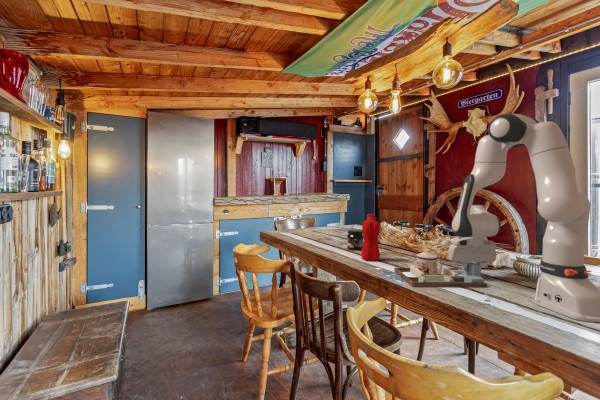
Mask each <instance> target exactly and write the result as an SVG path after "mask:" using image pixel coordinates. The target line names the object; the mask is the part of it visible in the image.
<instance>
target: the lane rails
mask: <svg viewBox="0 0 600 400" xmlns="http://www.w3.org/2000/svg"><path fill="white" fill-rule="evenodd" d="M447 268H448V269H450V270H459V268H458V267H447ZM393 272H394V273H395V274H397V275H398V276H399V277H400V278H401V279H403V281H405V282H406V283H407V284H408V285H409V286H410V287H413V288H415V287H416V288H418V287H419V288H426V287H427V288H432V287H433V288H487V287H488V286H487V285H488V283H487V282H485V281H484V282H464V277H450V278H452V279H453V280H454V282H418V277H415V276H407V275H406V274H405V273H406V272H407V273H408V272H409V273H410V267H394V268H393ZM403 272H405V273H403ZM424 278H444V277H424Z"/></svg>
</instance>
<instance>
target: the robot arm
mask: <svg viewBox="0 0 600 400" xmlns="http://www.w3.org/2000/svg"><path fill="white" fill-rule="evenodd" d="M487 133H488V134H487V135H484V136H482V137H481V138H480V139H479V140H478V144H477V148H476V152H475V156H474V165H473V168H472V171H471V172H470V174H469V175H466V177H465V178H464V180H463V184H462V187H461V191H460V194H459V198H458V203H457V206H456V211H455V214H454V215H453V217H452V220H451V230H452V231H453V232H454V234H455V235H457V236H456V237H452V238H450V240H449V241H450V244H449V247H448V251H447V258H448V260H449V261H451V262H454V263H456V262H457V263H459V262H460V263H461V266H462V265H463V267H464V268H463V270H464V271H465V272H468V271H469V268H468V267H466V265H465V264H467V262H477V263H478V264H477V265H480V266H482V264H483V262H488V263H490V262H491V263H494V262H496V260H497V252H496V243H495V242H494V241H493V240H488V241H484V237H486V238H488V237H496V236H498V234H499V232H501V228H502V227H501V226H502V224H501V223H502V222H501V220H500V218H499V217H498V215H496V214H493V213H491V212H489V211H488V210H486V209H485V206H484V205H481V204H476V203H475V204H473V202H474V199H475V195H476V194H477V192H479V191H480V190H481V189H483V188H486V187H488V186H492V185H494V184H495V183H498V182H499V181H501V179H502V178H503V177H504V176H505V173H506V169H507V159H508V157H507V156H508V151H509V149H511V148H518V147H521V146H525V147H526V149H527V152H528V156H529V159H530V163H531V167H532V171H533V173H534V177H535V185H536V187H535V188H536V196H537V212H538V213H539V215H540V217H541V218H543V219H544V220H546V221H547V225H546V227H545V231H544V234H543V235H544V236H543V237H542V254H541V260H540V263H539V270H540V276H539V277H538V279H537V284H536V290H535V295H534V298H532V304H534V305H538V306H539V307H543V308H545V309H547V310H550V311H553V312H555V313H557V314H560V315H562V316H565V317H568V318H570V319H574V320H577V321H584V322H590V323H591V322H592V323H593V322H594V323H600V289H598V287H596V285H595V284H594V283H593V282H592V281H591V280H590V279H589V275H592V270H588V269H587V267H586V265H585V247H586V246H585V245H586V237H587V234H588V233H587V232H588V228H589V222H590V221H589V220H590V212H591V202H590V200H589V198H588V197H587V196H586V195H585V194H584V193H582V192H580V191H578V185H577V179H576V178H577V177H576V167H575V165H574V160H573V157H572V154H571V152H570V148H569V144H568V141H567V139H566V137H565V135H564V134H563V132H562V129H561V128H560V126H559V125H558V124H557V123H556V122H554V121H548V120H547V121H541V122H539V121H538V120H537V119H536V118H534V117H532V116H526V115H524V114H521V113H520V114H519V113H508V112H507V113H502V114H499V115H496V116H495V117H493V118H492V120H491V121H490V123H489V124H488V127H487Z"/></svg>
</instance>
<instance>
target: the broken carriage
mask: <svg viewBox="0 0 600 400" xmlns="http://www.w3.org/2000/svg"><path fill="white" fill-rule="evenodd" d="M443 276H444V278H424V277H423V276H421V275H418V282H454V280H453V279H452V278H450V277H449V276H447V275H444V274H443ZM463 276H464V282H485V278H483V277H478V276H466V275H463Z"/></svg>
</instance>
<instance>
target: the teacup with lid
mask: <svg viewBox="0 0 600 400" xmlns="http://www.w3.org/2000/svg"><path fill="white" fill-rule="evenodd" d="M430 250H431V249H424V251H422V252H420V253H417V254H416V256H415V257H416V268H417V269H418V270H420V271H421V272H423V273H424V275H438V274H440V272H441V270H442V266H443V265H442V263H441V262H439V261H438V260H439V257H438V255H437V254H434V253H433V252H431V251H430ZM437 268H439V271H437Z"/></svg>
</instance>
